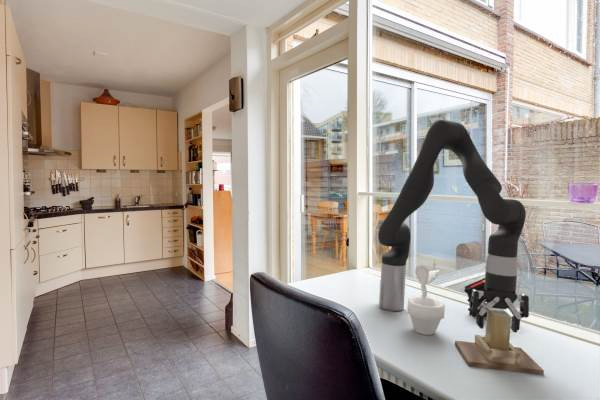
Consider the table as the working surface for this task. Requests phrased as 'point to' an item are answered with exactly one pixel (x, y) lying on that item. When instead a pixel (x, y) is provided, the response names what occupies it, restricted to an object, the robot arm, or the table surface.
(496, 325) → the skincare box
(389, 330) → the table surface
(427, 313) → the potted plant
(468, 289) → the magazine
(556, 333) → the table surface
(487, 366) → the socket board
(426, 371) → the table surface
